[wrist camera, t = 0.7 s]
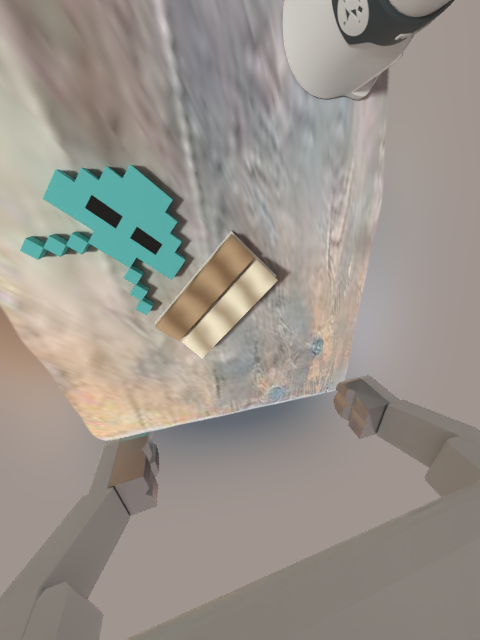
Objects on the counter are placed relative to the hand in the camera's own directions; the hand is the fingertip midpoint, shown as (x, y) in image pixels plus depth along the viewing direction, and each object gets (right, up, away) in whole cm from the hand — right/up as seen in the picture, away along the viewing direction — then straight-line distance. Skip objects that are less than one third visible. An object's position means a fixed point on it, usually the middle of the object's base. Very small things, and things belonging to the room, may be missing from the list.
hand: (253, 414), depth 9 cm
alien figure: (-20, +18, +27) cm, 38 cm away
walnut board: (-8, +10, +34) cm, 36 cm away
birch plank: (-3, +6, +36) cm, 37 cm away
